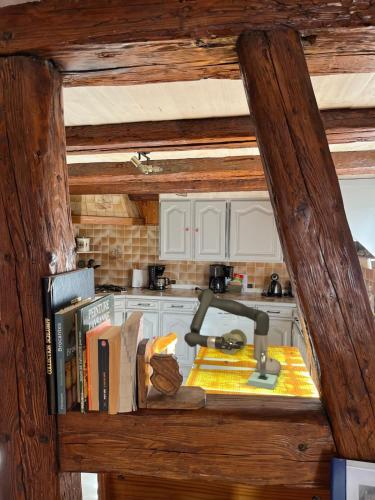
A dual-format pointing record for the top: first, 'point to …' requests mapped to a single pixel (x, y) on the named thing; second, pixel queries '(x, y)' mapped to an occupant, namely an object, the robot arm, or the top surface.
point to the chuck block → (262, 381)
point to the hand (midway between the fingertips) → (242, 345)
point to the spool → (235, 335)
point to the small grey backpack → (270, 366)
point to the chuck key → (263, 366)
